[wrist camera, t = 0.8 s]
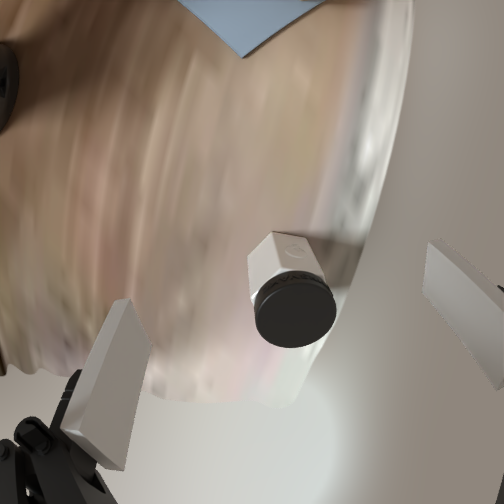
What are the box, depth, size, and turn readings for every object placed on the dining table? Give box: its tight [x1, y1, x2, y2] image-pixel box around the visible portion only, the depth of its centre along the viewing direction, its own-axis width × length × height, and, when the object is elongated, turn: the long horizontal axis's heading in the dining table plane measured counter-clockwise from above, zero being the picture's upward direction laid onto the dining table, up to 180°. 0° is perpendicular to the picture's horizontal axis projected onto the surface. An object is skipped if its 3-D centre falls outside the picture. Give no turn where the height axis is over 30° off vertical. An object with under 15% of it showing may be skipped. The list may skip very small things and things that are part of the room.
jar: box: [247, 232, 337, 348], centre depth 35 cm, size 9×8×12 cm
